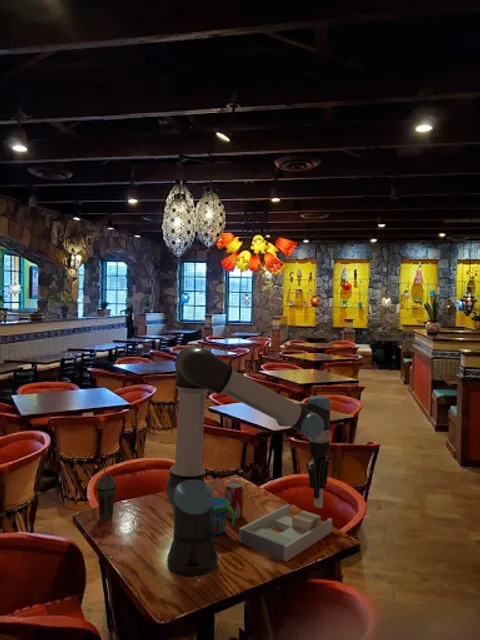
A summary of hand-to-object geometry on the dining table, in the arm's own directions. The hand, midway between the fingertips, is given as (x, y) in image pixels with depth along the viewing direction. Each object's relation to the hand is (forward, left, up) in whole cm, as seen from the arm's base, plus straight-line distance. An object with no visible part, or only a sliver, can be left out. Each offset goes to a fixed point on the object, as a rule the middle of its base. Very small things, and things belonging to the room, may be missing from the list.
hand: (318, 506), depth 175 cm
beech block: (-7, 0, -5) cm, 9 cm away
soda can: (-13, +28, -8) cm, 32 cm away
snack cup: (-27, +25, -8) cm, 38 cm away
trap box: (-13, +4, -8) cm, 16 cm away
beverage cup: (-46, +61, -8) cm, 77 cm away
